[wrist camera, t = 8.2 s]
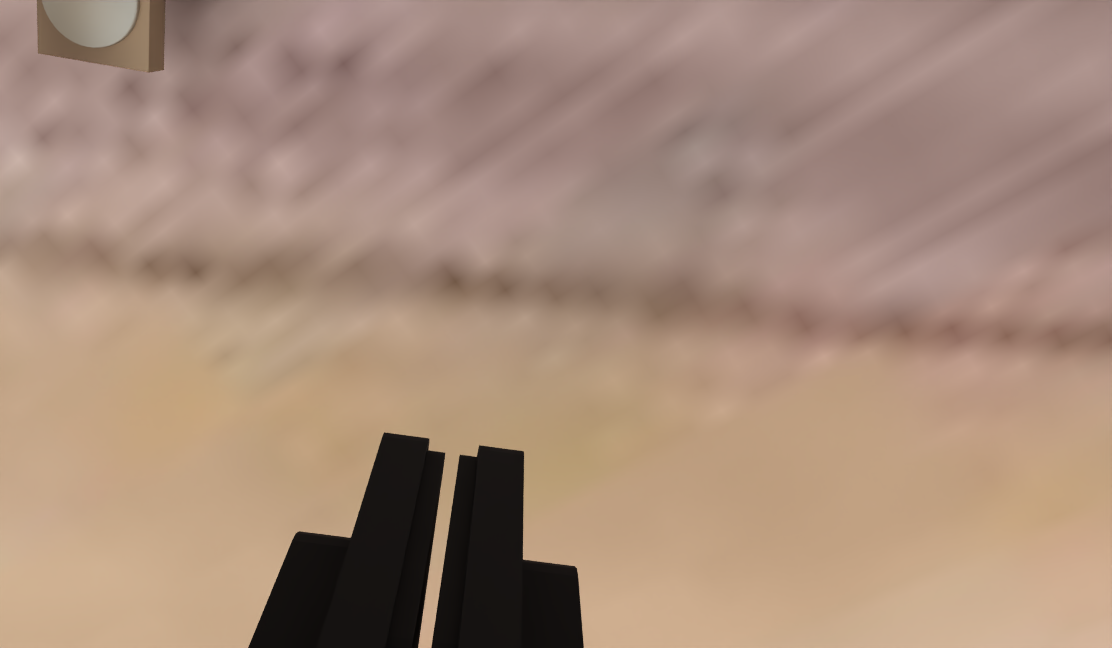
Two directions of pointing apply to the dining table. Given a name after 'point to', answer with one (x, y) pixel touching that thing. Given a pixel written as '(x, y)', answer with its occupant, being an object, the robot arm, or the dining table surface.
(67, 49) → the seesaw
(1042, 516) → the dining table surface
